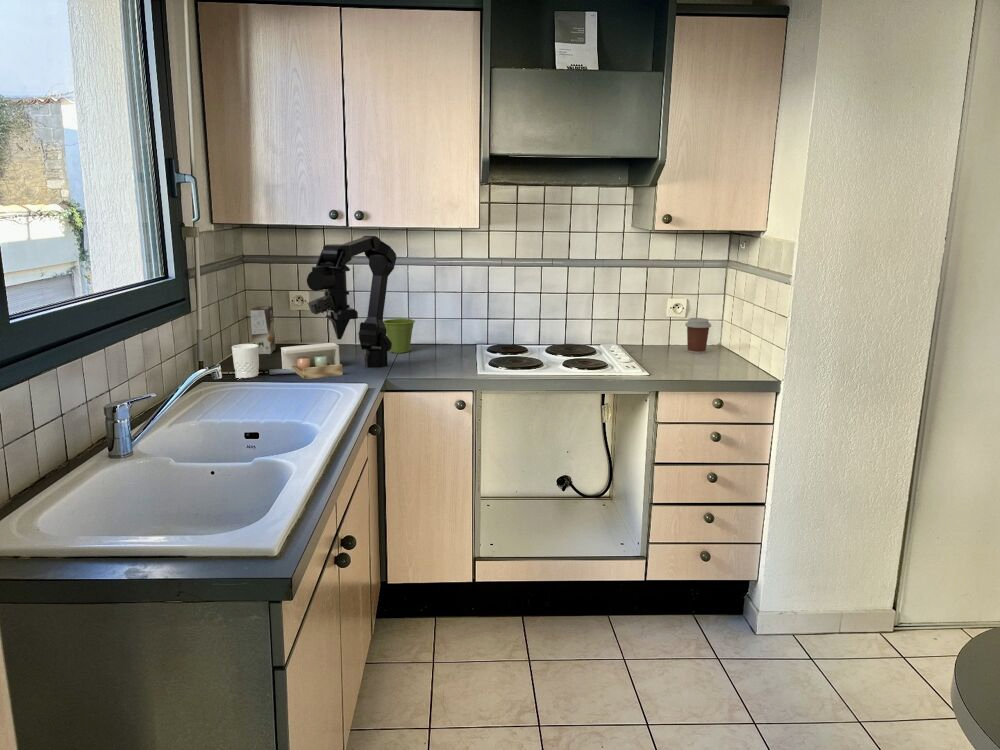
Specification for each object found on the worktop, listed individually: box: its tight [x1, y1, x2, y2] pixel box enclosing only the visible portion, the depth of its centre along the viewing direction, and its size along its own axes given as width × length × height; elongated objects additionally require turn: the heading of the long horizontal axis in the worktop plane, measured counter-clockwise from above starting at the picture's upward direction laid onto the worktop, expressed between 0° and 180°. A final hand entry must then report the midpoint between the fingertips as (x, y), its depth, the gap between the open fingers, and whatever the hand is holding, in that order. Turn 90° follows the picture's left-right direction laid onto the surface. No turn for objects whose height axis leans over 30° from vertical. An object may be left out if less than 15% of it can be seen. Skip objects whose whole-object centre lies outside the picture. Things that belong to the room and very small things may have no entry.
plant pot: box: [383, 318, 416, 354], centre depth 273 cm, size 12×12×11 cm
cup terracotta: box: [297, 357, 310, 372], centre depth 240 cm, size 4×4×4 cm
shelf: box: [280, 342, 341, 370], centre depth 242 cm, size 17×6×8 cm, turn 120°
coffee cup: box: [684, 317, 712, 354], centre depth 274 cm, size 9×9×12 cm
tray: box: [290, 362, 344, 380], centre depth 238 cm, size 12×15×4 cm
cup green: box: [314, 355, 327, 367], centre depth 243 cm, size 4×4×4 cm
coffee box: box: [249, 305, 276, 355], centre depth 271 cm, size 9×6×16 cm
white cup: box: [231, 343, 260, 380], centre depth 233 cm, size 8×8×10 cm
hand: (339, 339), depth 227 cm, fingers closed
